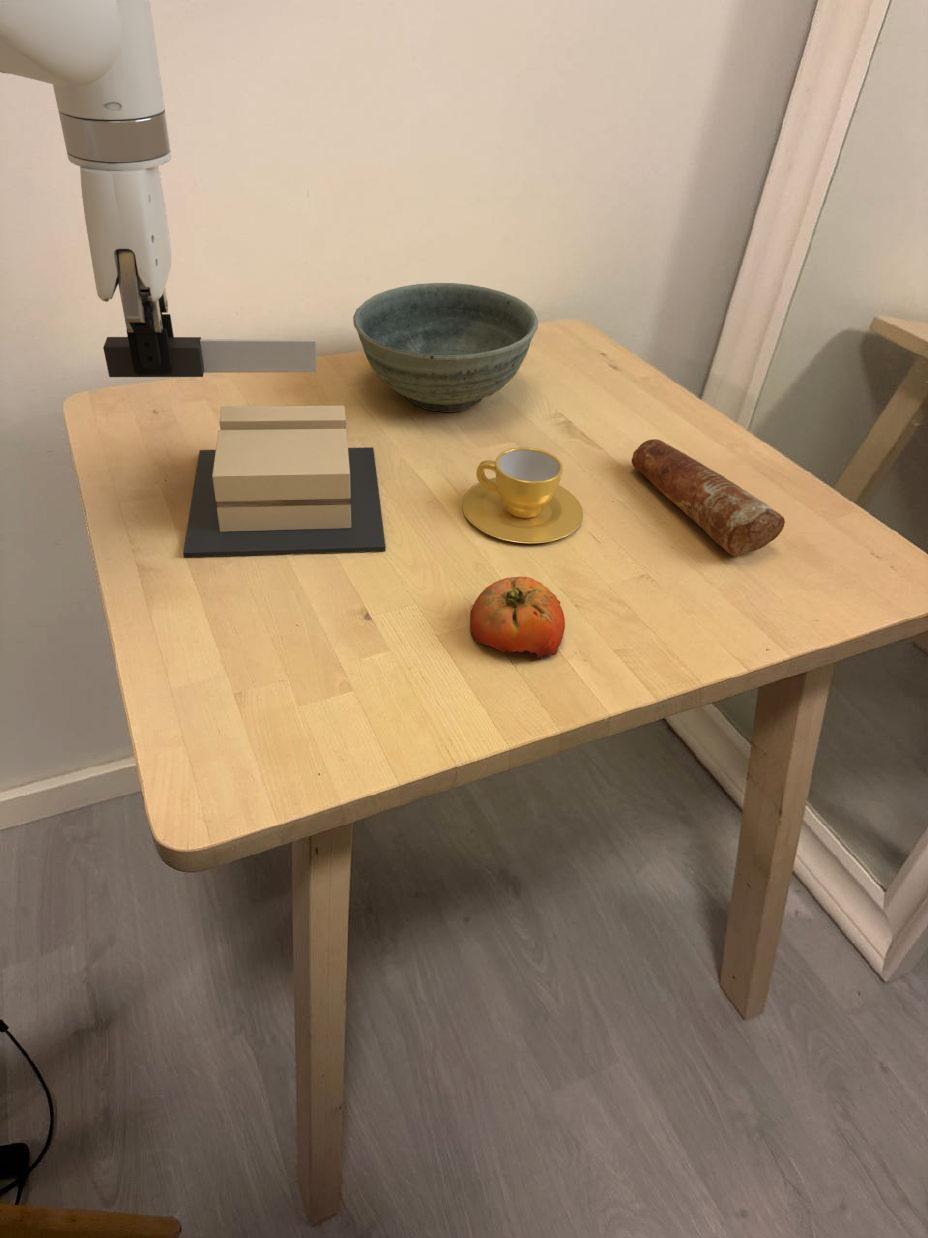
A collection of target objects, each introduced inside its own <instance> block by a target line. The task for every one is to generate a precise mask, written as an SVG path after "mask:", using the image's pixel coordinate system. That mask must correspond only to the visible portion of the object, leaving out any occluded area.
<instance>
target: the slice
mask: <svg viewBox="0 0 928 1238" xmlns="http://www.w3.org/2000/svg"><path fill="white" fill-rule="evenodd" d="M345 407H346V406H345V405H270V406H269V405H255V406H254V405H252V406H251V405H247V406H242V405H241V406H239V405H238V406H237V405H236V406H235V405H234V406H231V405H230V406H229V405H228V406H221V407H220V414H219V428H220V429H219V430H279V429H346V430H347V420H346V408H345Z"/></svg>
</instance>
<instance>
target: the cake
mask: <svg viewBox="0 0 928 1238" xmlns="http://www.w3.org/2000/svg"><path fill="white" fill-rule="evenodd" d="M348 444H349V443H348V431H347V428H346V429H279V430H220V429H219V430H218V431H217V438H216V445H215V449H200V450H199V452H198V458H197V464H196V471H195V477H194V481H193V482H194V483H193V490H192V495H191V502H190V508H189V513H188V521H187V526H186V533H185V537H184V539H185V540H184V543H183V544H184V545H183V550H182V551H183V552H182V554H183V558H184V559H187V558H189V559H190V558H222V557H253V556H283V555H284V556H285V555H313V554H314V555H315V554H316V555H317V554H344V553H345V554H346V553H347V554H348V553H377V552H382V553H383V552H386V550H387V549H386V548H387V547H386V539H385V538H386V537H385V531H384V524H383V523H384V522H383V514H382V507H381V497H380V493H379V492H380V490H379V482H378V475H377V466H376V458H375V450H374V446H373V447H368V446H367V447H365V446H364V447H349V445H348Z"/></svg>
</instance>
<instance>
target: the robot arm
mask: <svg viewBox="0 0 928 1238" xmlns="http://www.w3.org/2000/svg"><path fill="white" fill-rule="evenodd" d="M152 13H153V12H152V6H151V0H0V73H1V74H7V75H13V76H18V77H23V78H25V79H30V80H34V81H39V82H41V83H42V82H43V83H46V84H50V85H52V88H53V93H54V97H55V102H56V107H57V110H58V111H57V112H58V116H59V120H60V125H61V130H62V135H63V140H64V145H65V150H66V154H67V159H68V161H69V162H70V163H71V164H73V165H75V166H78V167H79V171H80V172H79V173H80V185H81V186H80V187H81V199H82V205H83V213H84V220H85V221H84V222H85V227H86V235H87V239H88V247H89V250H90V258H91V264H92V272H93V276H94V278H93V279H94V283H95V289H96V294H97V297H98V299H100V300H101V301H102V302H107V303H108V302H109V301H110V300H113V298H114V295H115V293H116V290H117V288H118V289H119V295H120V301H121V306H122V311H123V317H124V322H125V323H124V324H125V328H126V329H125V330H126V335H127V336H126V337H128V341H129V347H130V352H131V357H132V363H133V368H134V372H135V373H136V374H138V375H170V374H171V373H172V370H173V366H172V360H171V354H170V347H169V341H168V337H175V336H174V328H173V322H172V316H171V314H170V313H169V304H168V297H167V292H166V285H167V283H168V278H169V275H170V271H171V266H172V250H171V249H172V248H171V239H170V231H169V223H168V217H167V216H168V215H167V209H166V204H165V197H164V196H165V195H164V190H163V185H162V179H161V171H160V168H159V167H160V166H163V165H165V164H167V163H168V162H170V161H171V159H172V151H171V144H170V137H169V130H168V123H167V115H166V109H165V107H166V106H165V101H164V93H163V92H164V91H163V86H162V79H161V71H160V64H159V57H158V50H157V42H156V35H155V27H154V19H153V14H152Z"/></svg>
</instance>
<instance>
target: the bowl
mask: <svg viewBox="0 0 928 1238" xmlns="http://www.w3.org/2000/svg"><path fill="white" fill-rule="evenodd" d="M352 320H353V327H354V328H355V330H356V332H357V335H358V338H359V341H360V343H361V346H362V349H363V352H364V355H365V357H366V360H367V362H368V364H369V366H370V367H371V369H372V370H373V371H374V372H375V374H376V375H377V376H378V378H379V379H380V380H381V381H382V382H383V383H384V384H385V385H387V387H389V388H390V389H392V390H393V391H395V392H396V393H398V394H399V395H401V396H404V397H406V398H407V400H408V401H409V402H410V403H411V404H413V405H415V406H417V407H419V408H422V409H424V410H429V411H434V412H439V413H440V412H443V413H453V412H454V413H455V412H460V411H464V410H468V409H471V408H473V407H475V406H477V405H478V404H480V403H481V401H482V400H483V399H484V398H487V397H490V396H492V395H494V394H495V393H496V392H498V391H500V390H501V389H503V388H504V387H505V386H506V385H507V384H508V383H509V382H510V381H511V380H512V379H513V378H514V377H515V376H516V375H517V372H518V371H519V369H520V367H521V366H522V364H523V362H524V360H525V358H526V356H527V354H528V352H529V349H530V346H531V343H532V340H533V338H534V336H535V334H536V332H537V330H538V329H539V319H538V316H537V314H536V313H535V310H534V309H533V308H532V307H531V306H530V305H529V304H528V303H526V302H525V301H523V300H522V299H520V298H518V297H517V296H514V295H512V294H510V293H506V292H504V291H500V290H497V289H494V288H489V287H486V286H479V285H475V284H467V283H459V282H428V283H416V284H410V285H404V286H399V287H394V288H391V289H387V290H385V291H384V290H383V291H382V292H379V293H377V294H374V295H373V296H371V297H370V298H369V299H366V300H365V301H364V302H363V303H362V304H361V305H360V306H359V307H358V308H356V310H355V312H354V314H353V317H352Z"/></svg>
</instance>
